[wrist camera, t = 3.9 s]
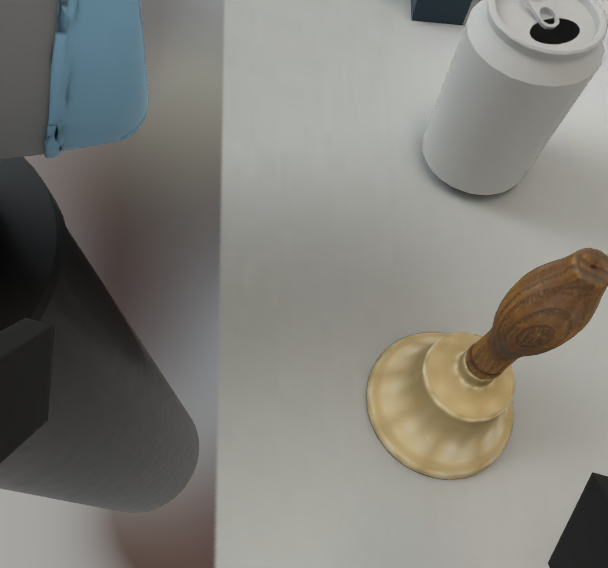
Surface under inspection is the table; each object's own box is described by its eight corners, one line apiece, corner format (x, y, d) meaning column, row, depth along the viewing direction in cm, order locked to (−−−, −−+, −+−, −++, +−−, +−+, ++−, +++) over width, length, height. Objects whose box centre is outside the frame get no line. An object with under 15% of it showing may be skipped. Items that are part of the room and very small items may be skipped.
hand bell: (357, 337, 31) (430, 164, 17) (491, 329, 32) (671, 156, 18) (377, 486, 28) (491, 427, 13) (528, 472, 28) (792, 403, 14)
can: (451, 216, 35) (530, 74, 25) (400, 135, 38) (450, -24, 27) (542, 184, 37) (654, 38, 26) (487, 109, 40) (567, -50, 29)
